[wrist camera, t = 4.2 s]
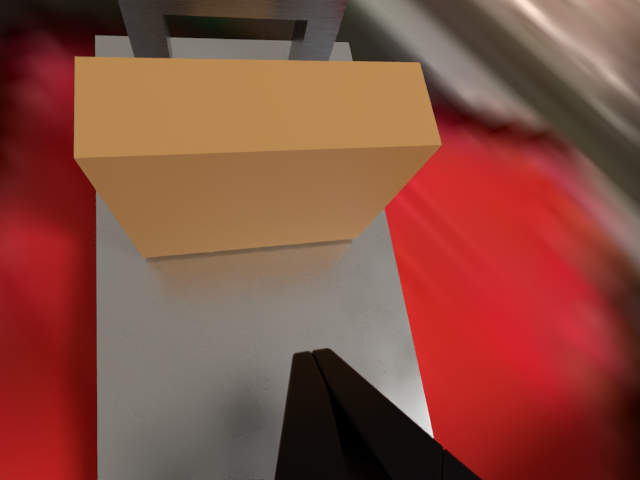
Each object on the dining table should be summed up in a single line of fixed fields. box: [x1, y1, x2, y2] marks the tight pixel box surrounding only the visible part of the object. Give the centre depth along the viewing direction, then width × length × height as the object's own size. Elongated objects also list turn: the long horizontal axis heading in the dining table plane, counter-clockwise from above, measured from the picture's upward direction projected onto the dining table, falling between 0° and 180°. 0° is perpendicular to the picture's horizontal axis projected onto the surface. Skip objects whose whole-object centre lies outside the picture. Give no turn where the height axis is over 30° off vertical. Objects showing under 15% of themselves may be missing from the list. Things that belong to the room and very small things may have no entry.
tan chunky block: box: [74, 57, 442, 258], centre depth 17 cm, size 9×10×9 cm
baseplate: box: [95, 0, 434, 480], centre depth 18 cm, size 24×14×7 cm, turn 8°
